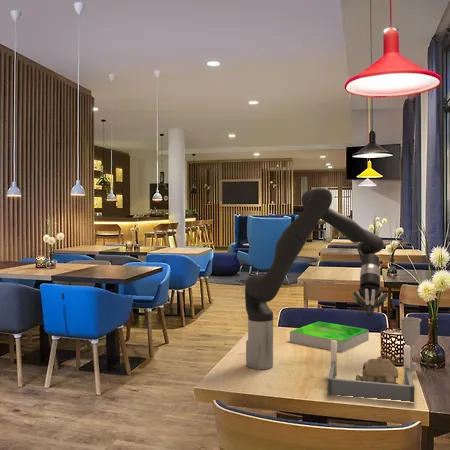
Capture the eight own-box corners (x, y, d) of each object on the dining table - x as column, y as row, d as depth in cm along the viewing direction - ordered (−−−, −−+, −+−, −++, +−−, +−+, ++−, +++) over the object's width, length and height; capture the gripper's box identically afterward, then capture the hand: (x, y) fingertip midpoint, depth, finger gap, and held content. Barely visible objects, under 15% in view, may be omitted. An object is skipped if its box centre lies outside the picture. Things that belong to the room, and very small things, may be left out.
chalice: (421, 367, 181) (422, 318, 180) (420, 372, 174) (421, 322, 174) (400, 364, 184) (400, 316, 183) (398, 370, 177) (399, 320, 177)
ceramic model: (396, 382, 166) (396, 352, 165) (406, 394, 154) (406, 362, 154) (353, 381, 167) (353, 351, 166) (360, 393, 156) (360, 361, 155)
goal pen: (415, 403, 147) (416, 363, 146) (326, 395, 154) (326, 356, 153) (409, 381, 166) (410, 345, 166) (331, 374, 173) (331, 340, 173)
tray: (289, 342, 216) (289, 331, 216) (318, 331, 235) (318, 321, 235) (342, 353, 200) (342, 341, 200) (368, 340, 219) (368, 329, 219)
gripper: (352, 271, 192) (350, 308, 181) (388, 272, 189) (389, 310, 177) (352, 283, 198) (351, 320, 186) (387, 284, 194) (388, 322, 182)
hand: (369, 315), depth 182 cm, fingers closed
